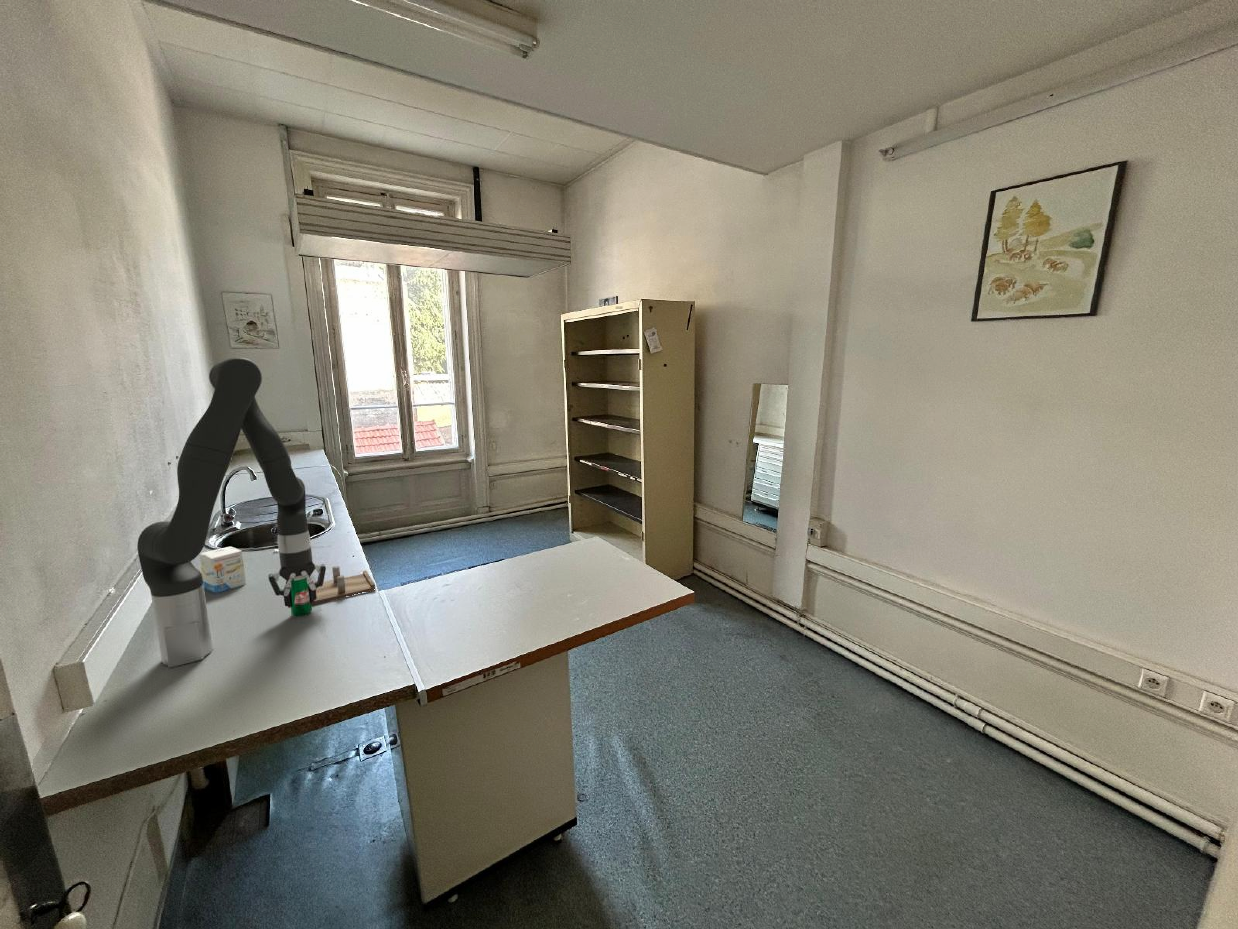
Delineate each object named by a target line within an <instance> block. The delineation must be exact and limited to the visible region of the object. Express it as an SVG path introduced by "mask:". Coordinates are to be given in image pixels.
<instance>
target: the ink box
mask: <svg viewBox="0 0 1238 929" xmlns="http://www.w3.org/2000/svg"><path fill="white" fill-rule="evenodd" d="M243 558H244V557H243V551H242V550H240V549H238V548H236V547H233V546H226V547H222V548H217V549H212V550H209V551H204V552H200V553H199V562H200V569H201V574H202V577H203V585H204V590H205V589H206V590H207V591H210V592H211V593H214V594H219V593H222V592H225V591H229V590H232V589H235V588H238V587H241V586H244V585H247V581H246V574H245V573H246V572H245V564H244V559H243Z"/></svg>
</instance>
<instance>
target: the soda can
mask: <svg viewBox="0 0 1238 929" xmlns="http://www.w3.org/2000/svg"><path fill="white" fill-rule="evenodd" d="M289 595H290V601H291V607H290V613H291V615H292V616H294V617H296V618H298V617H304V616H305V617H306V616H307V615H309V614H310V613H312V611H313V605H312V603H311V594H310V586H309V585H308V584H307V578H306V577H303V576H302V575H299V576H295V578H294V579H292V580H291V588H290V592H289Z"/></svg>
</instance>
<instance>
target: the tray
mask: <svg viewBox="0 0 1238 929" xmlns="http://www.w3.org/2000/svg"><path fill="white" fill-rule="evenodd" d="M374 589H375V590H374ZM375 591H376V584H375V583H374V580H373V579H372V577H371V576H370V574H369V573H368V571H367V570H362V574H355V575H351V576H346V577H345V575H341V570H340V566H339V565H336V566H332V580H327V581H324V582H323V586H321V587H318V588H317V589H316V596H317V598H316V600H314V602H313V603H312V606H315V605H319V604H323V603H329V602H332V600H333V601H337V600H336V599H338V600H342V599H345V598H344V597H346V596H351V597H353V596H352V595H354V594H358V593H362V592H368V593H372V592H375ZM341 598H342V599H341Z"/></svg>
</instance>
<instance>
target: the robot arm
mask: <svg viewBox="0 0 1238 929" xmlns="http://www.w3.org/2000/svg"><path fill="white" fill-rule="evenodd" d="M208 379H209V382H210V384H211V386H212V388H213V389H214V391H213V394H212V397H211V400H210V402H209V405H208V407H207V408H206V411H205V412H204V413H203V414H202V415H201V417H200V419H199V420H198V422H197V423H196V424H195V426H194V427H193V428H192V430H191V432H190V433H189V435H188V438H187V439H186V441H185V443H184V445H183V447H182V450H181V454H180V457H179V458H178V462H177V469H176V470H177V471H176V472H177V486H178V501H177V504H176V507H175V510H174V512H173V515H172V517H171V520H170V521H165V520H164V521H157V522H155V523H151V524H150V525H147V527H145V528H144V529H143V530H142V532H140V535H139V536H138V540H137V544H136V546H137V555H138V559H139V564H140V569H141V573H142V576H143V580H144V582H145V584H146V585H147V586H148V588H149V590H150V597H151V601H152V609H153V614H154V615H153V616H154V620H155V626H156V632H157V638H158V646H159V650H160V657H161V663H162V664H163V665H165V666H167V667H168V668H175V667H177V666H182V665H185V664H189V663H193V662H197V661H201V660H204V658H205V657H206V656H207V655H210V653H211V652H213V646H214V645H213V640H212V633H211V627H210V621H209V620H210V619H209V614H208V606H207V600H206V593H205V588H204V585H203V577H202V571H200V570H199V569H198V568H197V567H196V566H195V565H194V564H193V562H192V561H193V560H195V559H196V558H197V557H198V556H200V553H202V551H203V550H204V546H205V545H206V540H207V537H208V533H209V529H210V524H211V519H212V516H213V511H214V508H215V505H216V502H217V499H218V496H219V493H220V490H221V487H222V484H223V481H224V478H225V476H226V473H227V472H228V469H229V467H230V463H231V461H232V458H233V455H234V453H235V449H236V446H237V443H238V441H239V440H238V439H239V437H240V434H241V431H242V433H243V434H244V438H245V439H246V441H247V442H248V445H249V446H250V448H251V451H252V453H253V455H254V457H255V458H256V461H257V463H258V465H259V467H260V468H261V470H262V473H263V475H264V476H263V477H264V479H265V483H266V485H267V488H268V491H269V493H270V495H271V497H272V498H273V500H274V501H275V502H276V505H277V515H276V526H277V527H276V528H277V535H278V536H277V547H278V548H277V549H278V555H279V563H280V564H279V565H280V569H279V571H278V572H276V573H269V574H268V576H267V577H268V581H269V583H270V586H271V588H272V589H273V592H274V594H275V596H282V597H283V602H284V603H283V604H284V606H285V607H287V609H291V601H290V595H289V592H290V588H291V580H292V579H294V578H295V576H299V575H302V576H303V577H306V578H307V584H308V585H309V586H310V594H311V603H313V602H314V600H316V598H317V596H316V589H317V588H318V587H321V586H323V582H325V576H326V575H325V574H326V569H327V566H326V564H325V563H322V564H315V563H314V560H313V551H312V545H311V543H312V542H311V536H310V532H309V525H308V517H307V511H306V504H307V503H306V499H307V498H306V486H305V483H304V481H303V480H302V479H301V478H299V477H298V476H296V473H295V471H294V470H293V467H292V460H291V456H290V455H289V453H288V450H287V448H286V445H285V443H284V442H283V440H282V438H281V436H280V435H279V433H278V432H277V431H276V429H275V428H274V426H273V425H272V424H271V422H270V421H269V420H268V419H267V418H266V416H265V415H264V413H263V411H262V410H261V408H260V407H259V405H258V401H257V399H256V395H257V392H259V389H260V387H261V384H262V381H263V380H262V379H263V377H262V372H261V370H260V368H259V366H258V365H257V364H256V363H255V362H254V361H252V360H250V359H248V358H244V357H232V358H228V359H225V360H223V361H220V362H218V363H216V364H215V365H213V366H212V368H211V369H210V371H209V373H208ZM315 570H316V572H317V581H316V582H314V581H313V579H312V576H311V575H312V574H313V573H314V571H315ZM279 577H281V578H282V579H283V580H285V583H284V586H283V589H282V588H281V589H280V586H279V584H278V581H279Z"/></svg>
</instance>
